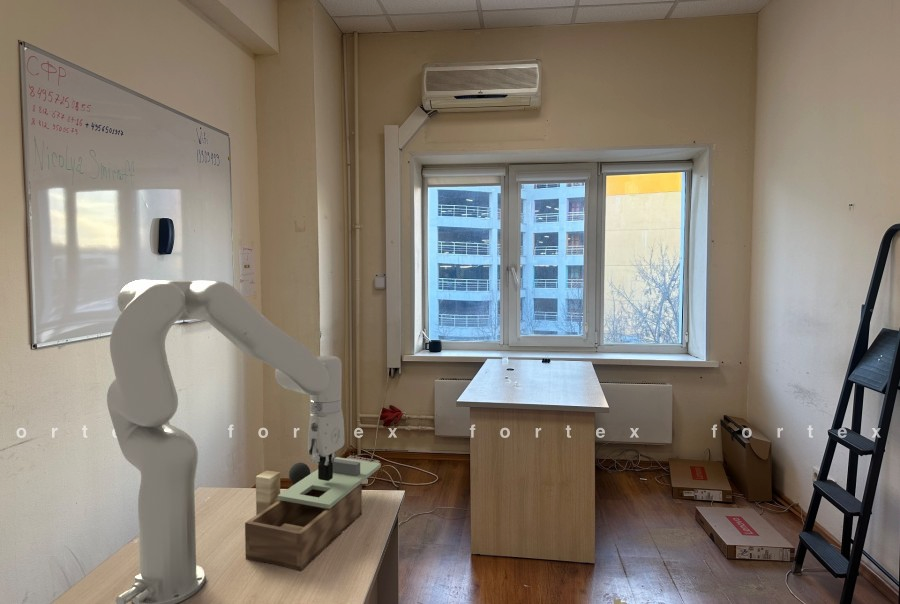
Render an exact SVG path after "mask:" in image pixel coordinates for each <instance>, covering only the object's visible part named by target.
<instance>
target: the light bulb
mask: <svg viewBox="0 0 900 604" xmlns="http://www.w3.org/2000/svg"><path fill="white" fill-rule="evenodd" d="M310 474H311V469H310V467H309V465H308V464H306V463H305V462H296V463H295V464H293V465H291V467H290V469H289V472H288V479H289V481H290V482H291V484H292V486H293V485H294V484H296V483H298V482H299V481H301V480H302V479H304V478H305V477H307V476H308V475H310Z"/></svg>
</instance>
